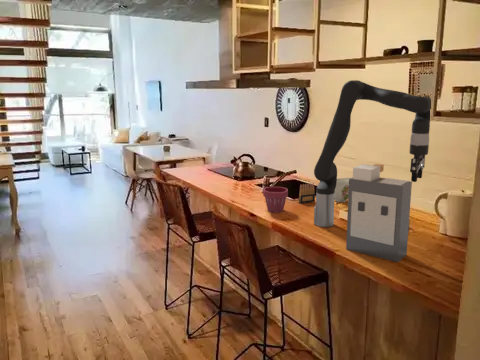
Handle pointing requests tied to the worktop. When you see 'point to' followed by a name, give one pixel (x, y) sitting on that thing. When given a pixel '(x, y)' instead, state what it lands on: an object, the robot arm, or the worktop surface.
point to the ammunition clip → (307, 194)
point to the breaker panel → (379, 217)
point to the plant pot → (275, 198)
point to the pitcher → (341, 190)
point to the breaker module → (367, 172)
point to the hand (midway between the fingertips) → (416, 179)
